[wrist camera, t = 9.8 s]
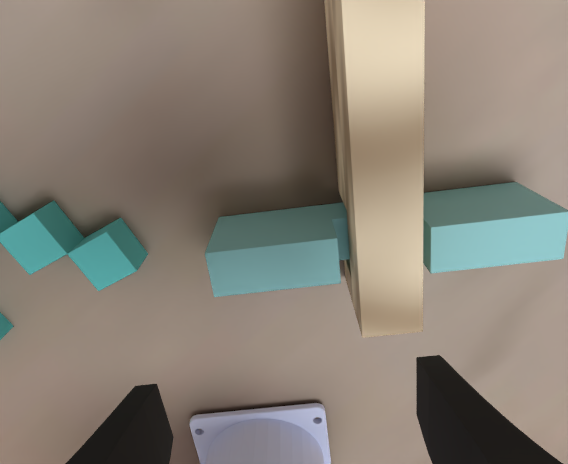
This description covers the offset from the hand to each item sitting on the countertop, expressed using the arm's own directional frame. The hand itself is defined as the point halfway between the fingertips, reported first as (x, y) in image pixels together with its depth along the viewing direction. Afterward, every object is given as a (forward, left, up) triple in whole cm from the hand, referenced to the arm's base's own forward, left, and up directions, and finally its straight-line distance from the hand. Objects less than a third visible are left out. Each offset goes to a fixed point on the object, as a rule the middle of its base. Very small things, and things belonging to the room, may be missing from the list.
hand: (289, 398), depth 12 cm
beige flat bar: (+5, -4, -10) cm, 12 cm away
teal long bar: (+1, -4, -10) cm, 11 cm away
